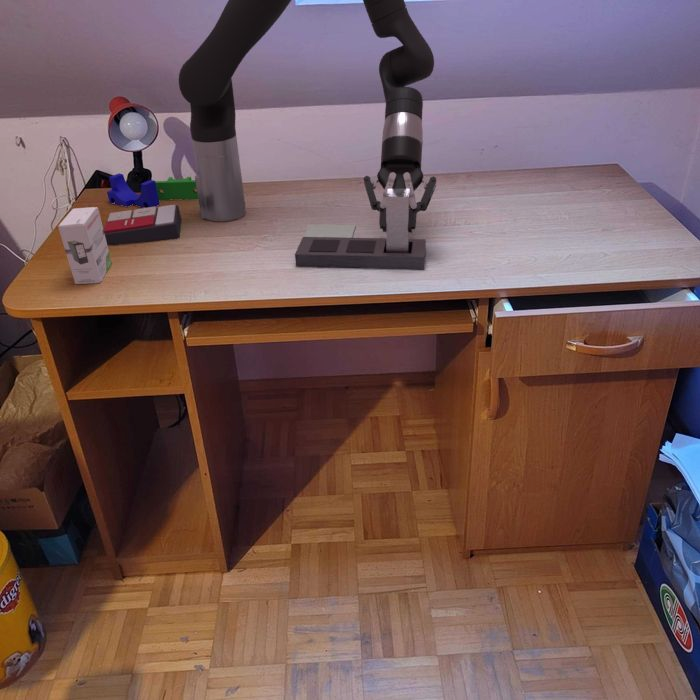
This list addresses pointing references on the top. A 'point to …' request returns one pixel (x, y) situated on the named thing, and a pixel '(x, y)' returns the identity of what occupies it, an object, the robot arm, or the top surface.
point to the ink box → (85, 245)
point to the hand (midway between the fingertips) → (397, 230)
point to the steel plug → (397, 220)
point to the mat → (330, 231)
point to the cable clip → (132, 193)
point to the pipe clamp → (176, 189)
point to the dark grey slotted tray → (357, 253)
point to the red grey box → (143, 225)
